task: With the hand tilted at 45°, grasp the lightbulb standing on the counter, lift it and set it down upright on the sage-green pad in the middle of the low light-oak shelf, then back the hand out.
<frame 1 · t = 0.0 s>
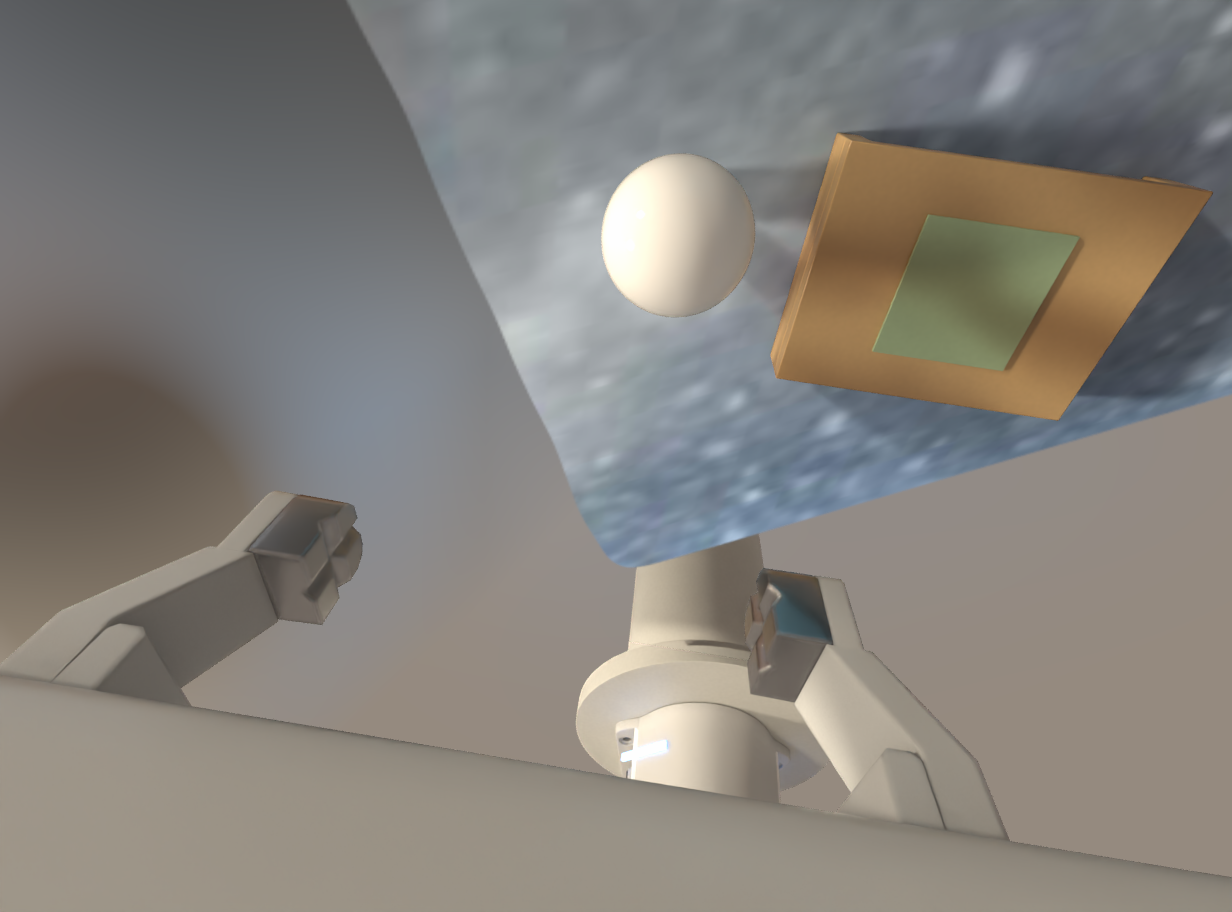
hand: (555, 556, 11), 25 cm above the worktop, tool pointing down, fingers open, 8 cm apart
shelf: (945, 277, 31), on the worktop
lightbulb: (679, 198, 30), on the worktop
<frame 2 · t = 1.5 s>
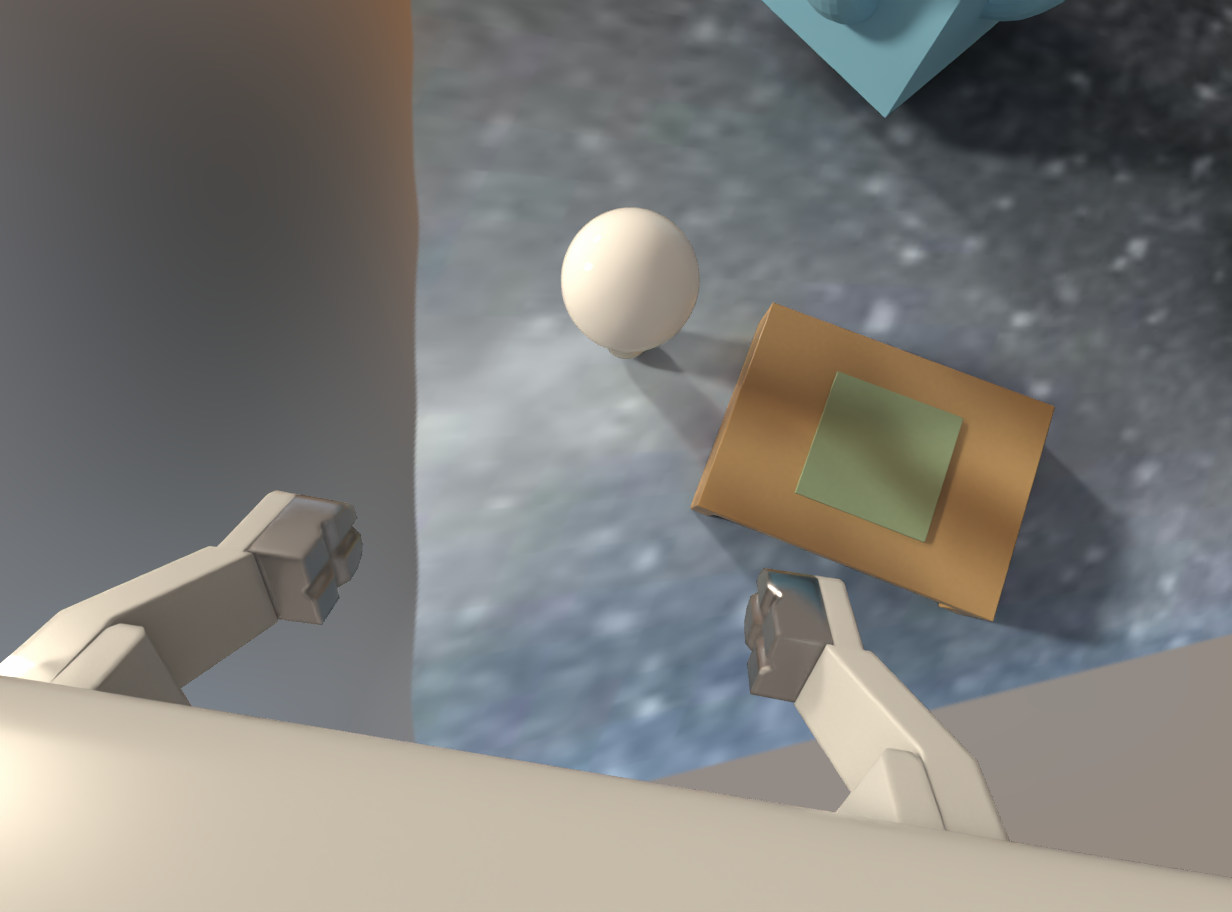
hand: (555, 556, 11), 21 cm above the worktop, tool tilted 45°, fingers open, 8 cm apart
shelf: (855, 462, 33), on the worktop
teakettle: (869, 25, 37), on the worktop
lightbulb: (626, 342, 34), on the worktop
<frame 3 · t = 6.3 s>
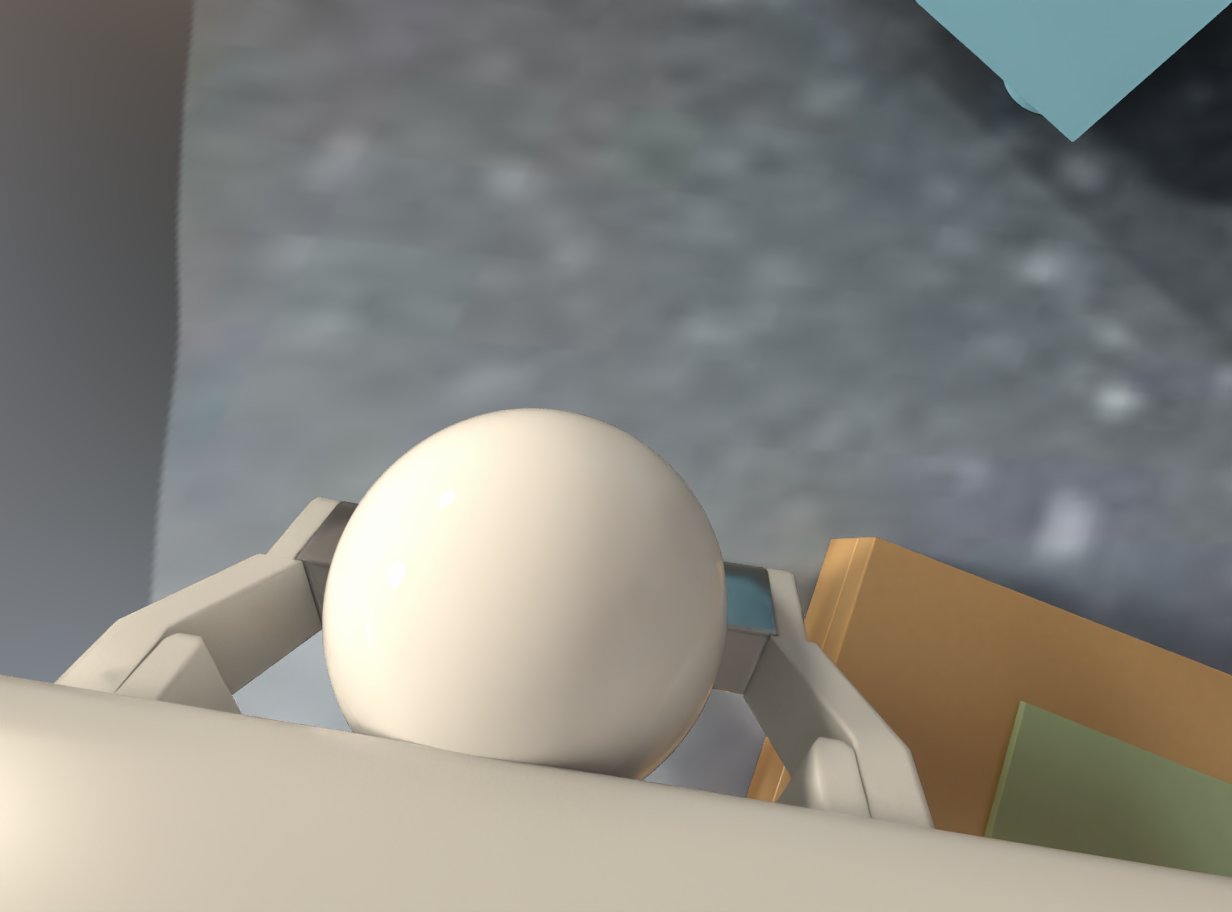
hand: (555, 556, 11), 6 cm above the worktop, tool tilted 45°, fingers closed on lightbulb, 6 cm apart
shelf: (1032, 840, 16), on the worktop
lightbulb: (571, 575, 17), on the worktop, touching gripper
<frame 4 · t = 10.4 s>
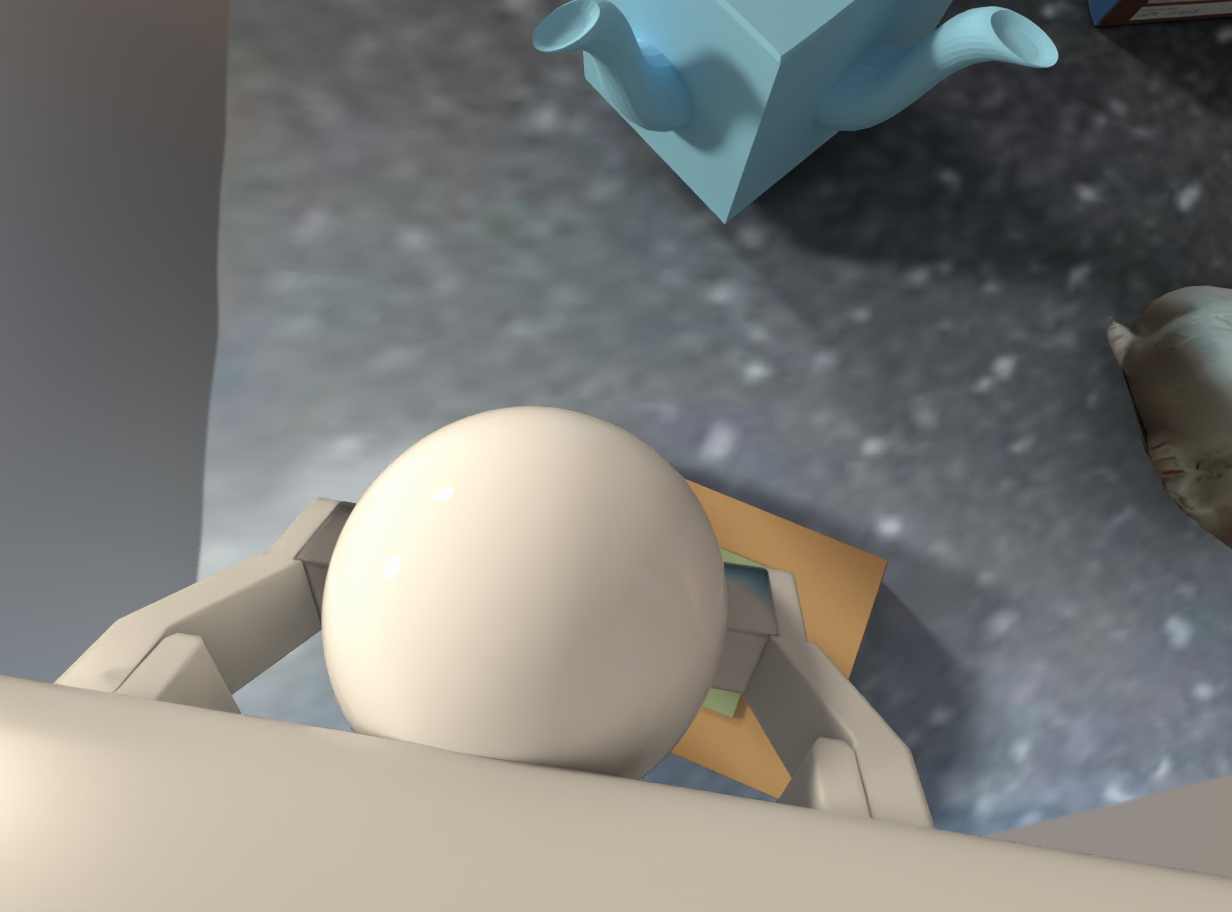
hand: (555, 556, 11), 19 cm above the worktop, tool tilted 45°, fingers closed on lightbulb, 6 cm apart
shelf: (680, 608, 30), on the worktop
teakettle: (724, 114, 34), on the worktop
lightbulb: (570, 574, 17), point 13 cm above the worktop, touching gripper
lucky cat figurine: (1201, 409, 32), on the worktop
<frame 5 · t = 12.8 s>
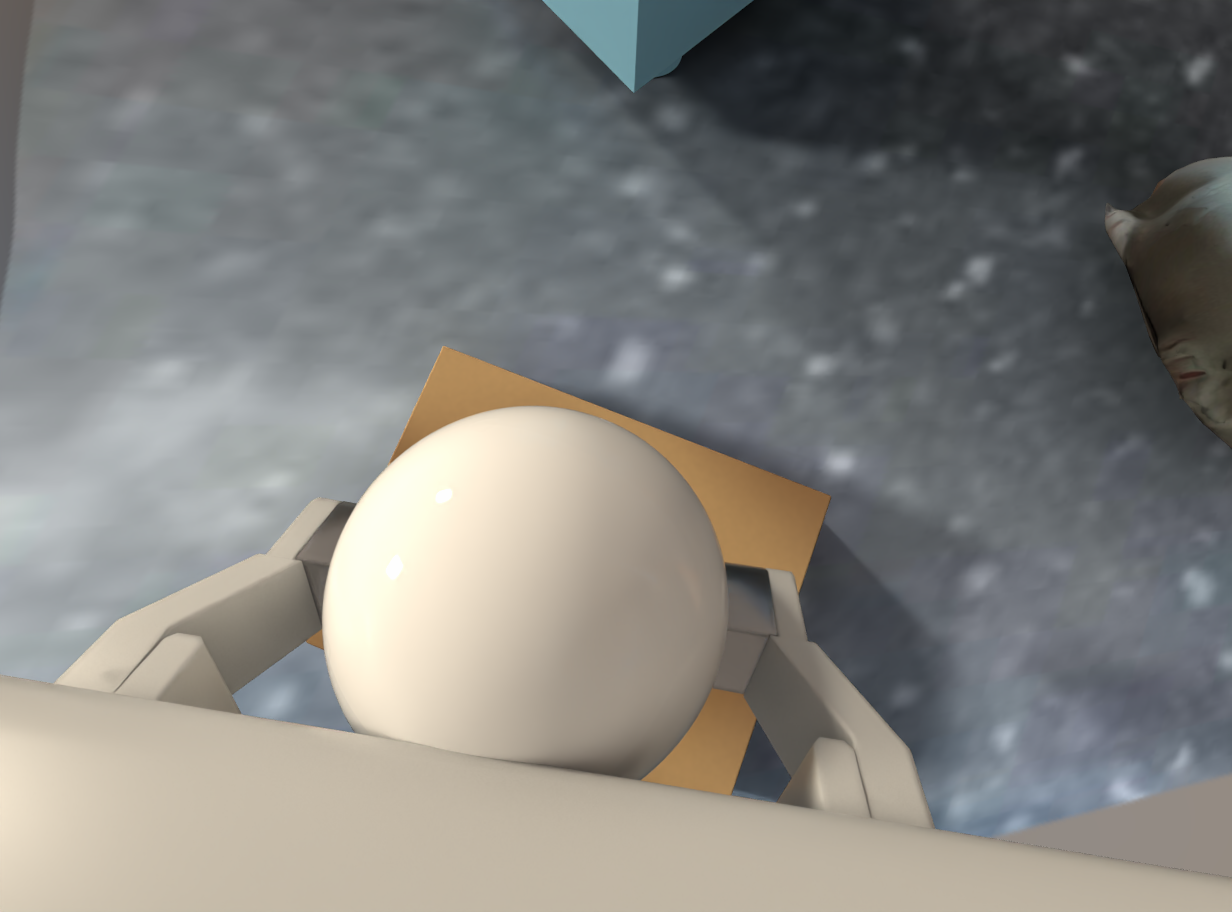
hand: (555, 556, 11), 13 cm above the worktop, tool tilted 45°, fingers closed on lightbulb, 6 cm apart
shelf: (579, 564, 24), on the worktop
lightbulb: (571, 573, 17), point 6 cm above the worktop, touching gripper
lucky cat figurine: (1219, 318, 26), on the worktop
when the fingers open (9 cm above the worktop, at t = 14.4 s): lightbulb stays where it is, resting on shelf.
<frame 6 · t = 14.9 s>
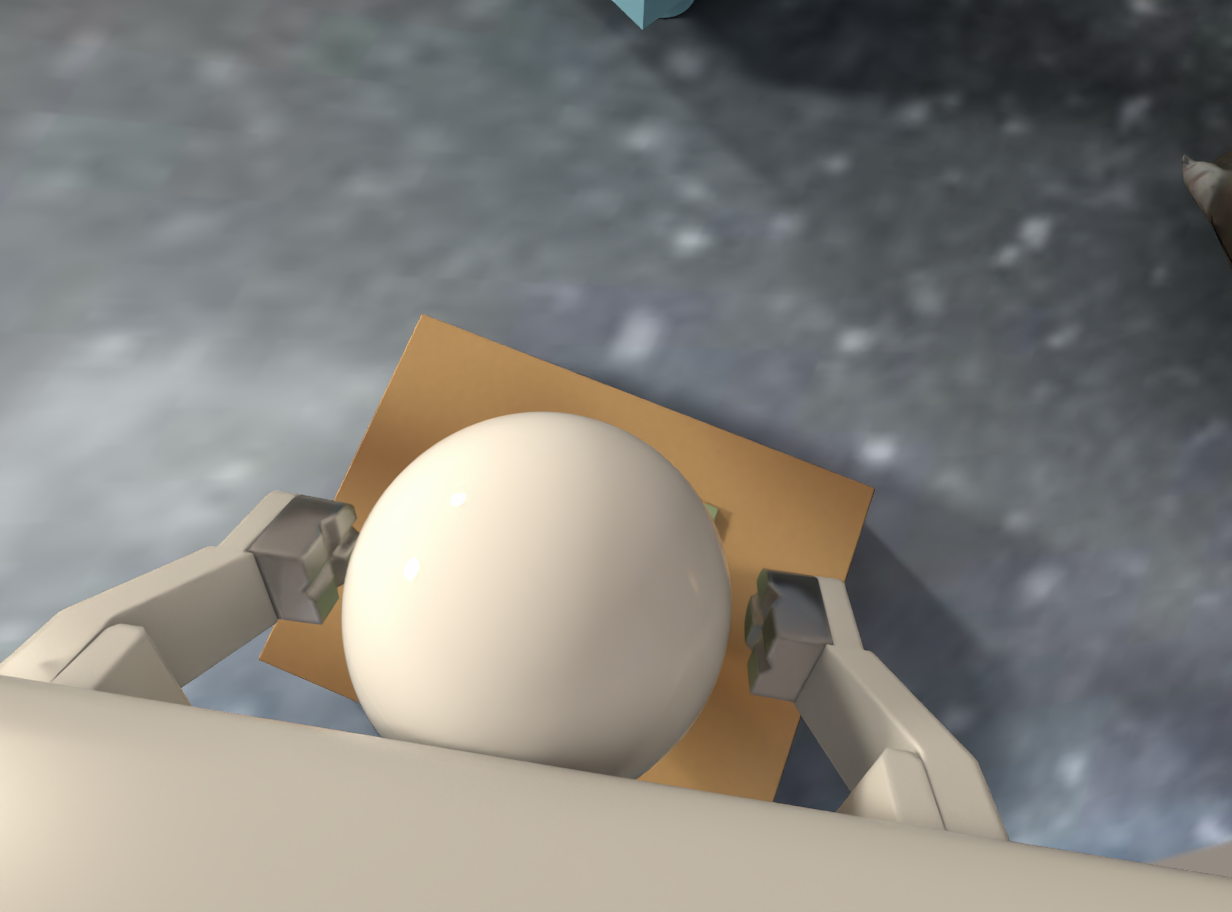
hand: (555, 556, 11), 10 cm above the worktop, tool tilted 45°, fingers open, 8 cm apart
shelf: (579, 568, 21), on the worktop
lightbulb: (575, 573, 18), point 3 cm above the worktop, touching shelf
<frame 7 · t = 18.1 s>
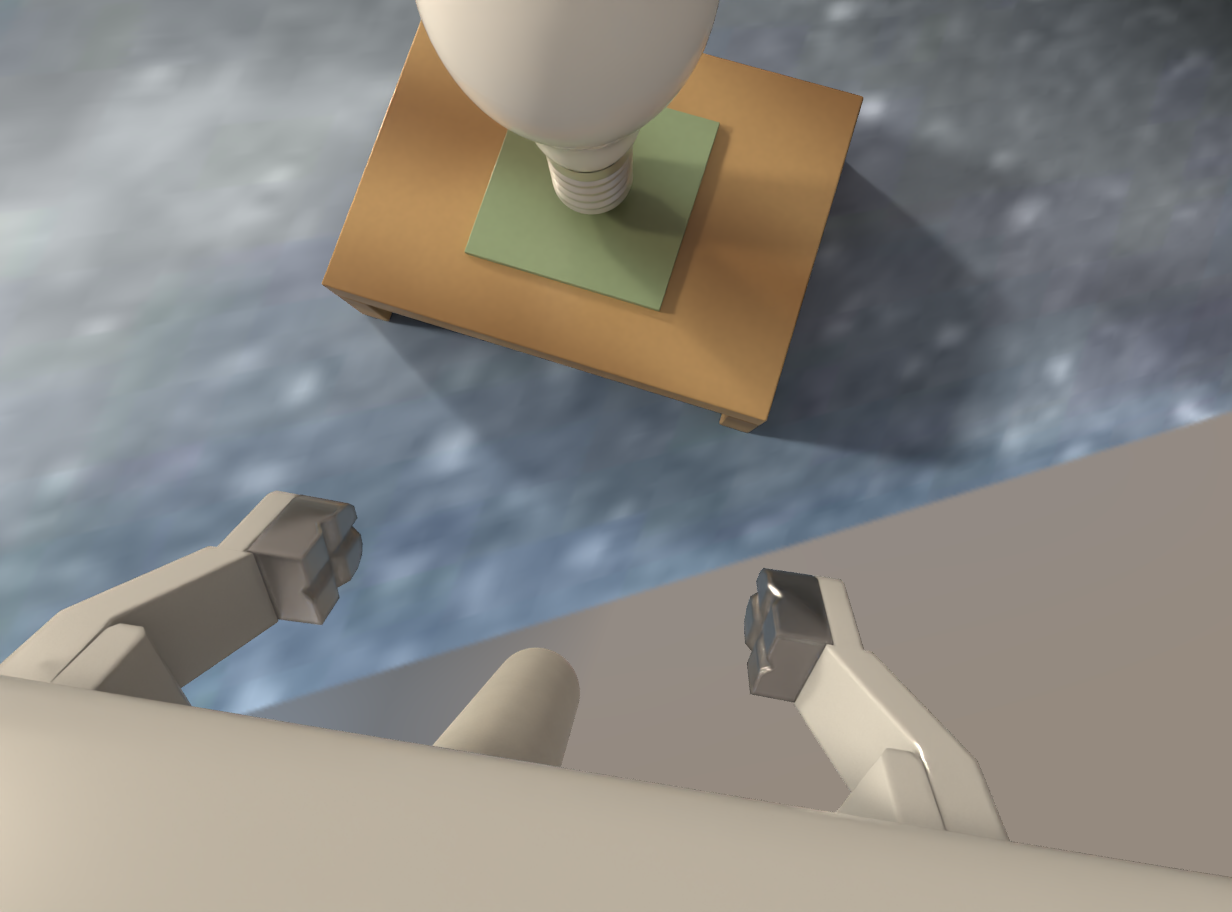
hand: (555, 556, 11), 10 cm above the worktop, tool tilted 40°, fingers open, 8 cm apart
shelf: (598, 232, 23), on the worktop
lightbulb: (594, 190, 20), point 3 cm above the worktop, touching shelf
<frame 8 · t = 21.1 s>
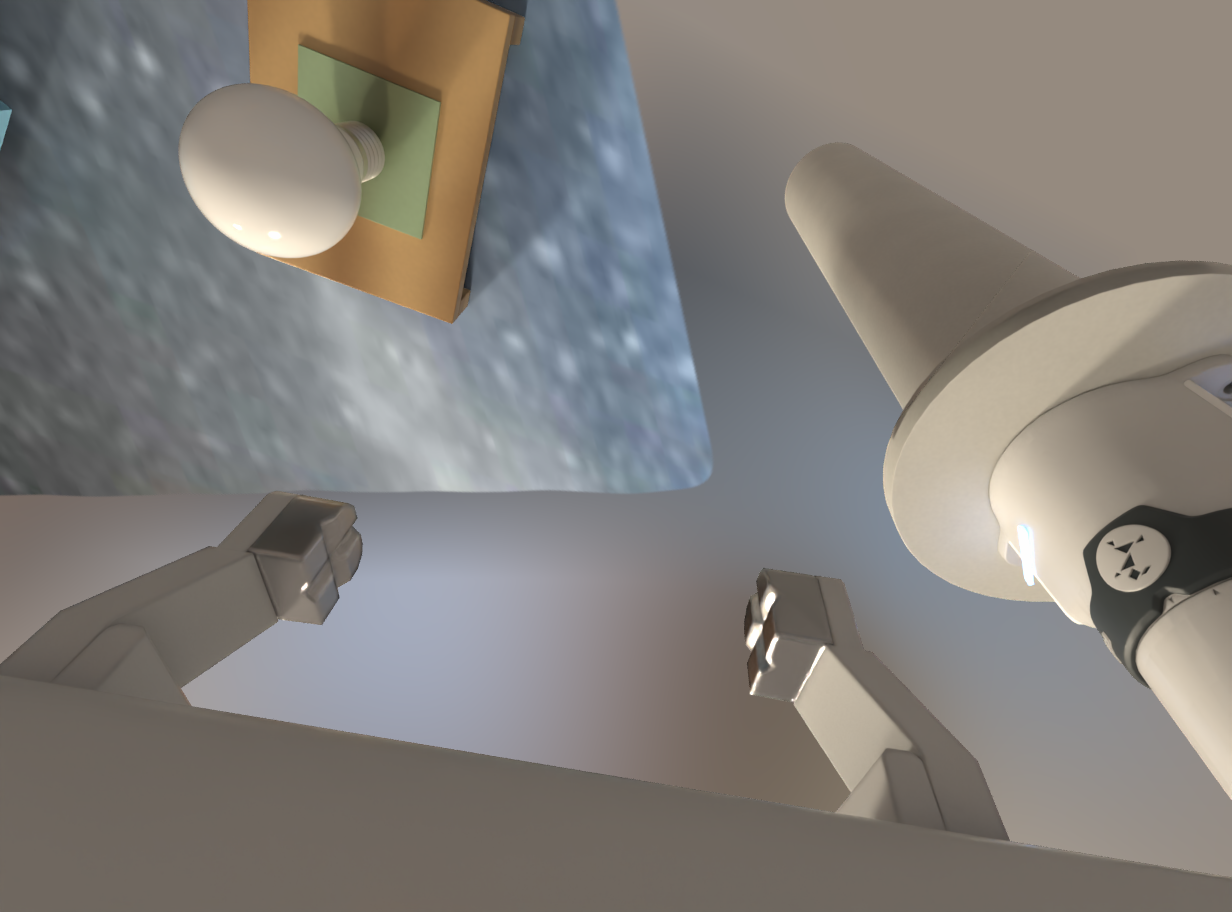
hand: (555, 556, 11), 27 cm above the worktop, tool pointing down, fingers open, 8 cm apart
shelf: (390, 141, 32), on the worktop
lightbulb: (366, 148, 30), point 3 cm above the worktop, touching shelf
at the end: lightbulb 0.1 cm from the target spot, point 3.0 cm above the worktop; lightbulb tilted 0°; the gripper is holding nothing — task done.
